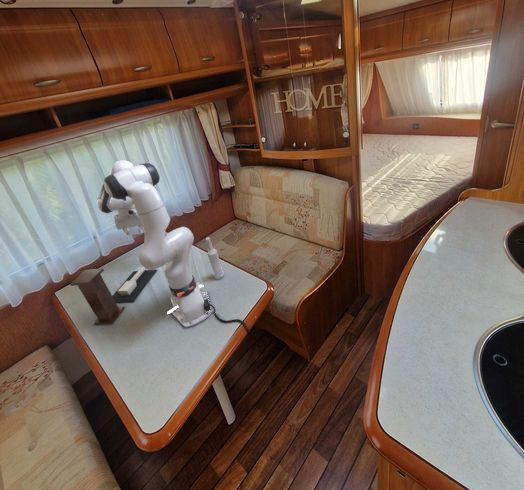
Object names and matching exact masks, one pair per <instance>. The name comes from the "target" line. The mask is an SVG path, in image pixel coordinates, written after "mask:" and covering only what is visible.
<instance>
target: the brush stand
mask: <svg viewBox="0 0 524 490" xmlns="http://www.w3.org/2000/svg"><path fill="white" fill-rule="evenodd" d="M104 270H105V269H104V268H103V267H101V268H90V269H85V270H83V271H82V272H81V273H80V274H79V275H78V276H77V277H76V278H74V280H73V281H71V282H70V283H69V285H70V286H73V287H74V286H77V288H78V289H79V290H80V292H81V294H82V296H83V297H84V298H85V300H86V302H87V304H88V305H89V307H90V309H91V310H92V312H93V314H94V315H95V317H96V318H97V319H96V320H95V321H94V323H93V324H94V325H113V324H114V323H115V321H116V320H117V319H118V317H119V316H120V315H121V313H122V312H123V311H124V309H125V307H124V306H118V303H116V302H115V300H114V299H113V297H112V296H113V295H112V293H111V290H110V289H109V288H108V286H107V284H106V282H105V279H103V277H102V275H101V274H103V272H104Z"/></svg>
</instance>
